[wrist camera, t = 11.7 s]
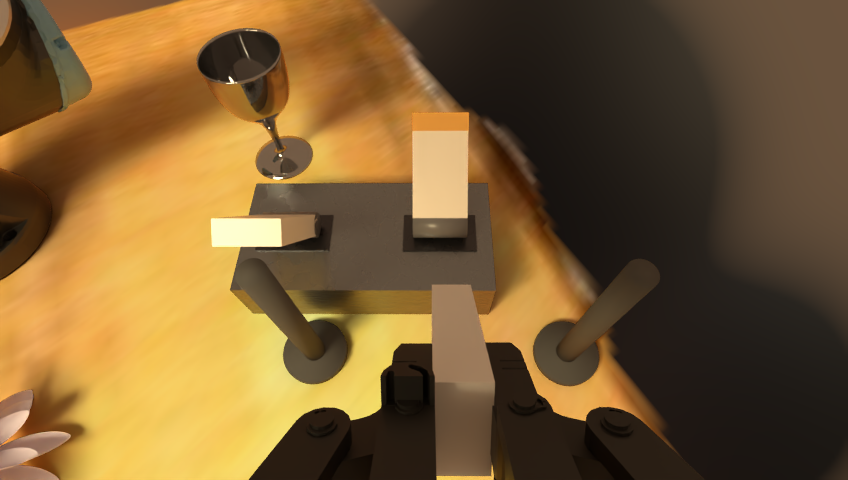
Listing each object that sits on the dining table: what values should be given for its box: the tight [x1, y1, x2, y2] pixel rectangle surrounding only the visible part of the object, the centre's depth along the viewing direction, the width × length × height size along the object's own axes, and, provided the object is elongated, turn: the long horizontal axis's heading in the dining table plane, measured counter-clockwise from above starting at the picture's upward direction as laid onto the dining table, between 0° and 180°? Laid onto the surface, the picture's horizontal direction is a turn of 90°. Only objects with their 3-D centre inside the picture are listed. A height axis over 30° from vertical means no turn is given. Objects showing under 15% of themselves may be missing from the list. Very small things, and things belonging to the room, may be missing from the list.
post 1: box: [234, 258, 347, 384], centre depth 35 cm, size 6×6×18 cm
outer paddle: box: [412, 112, 469, 238], centre depth 41 cm, size 2×5×11 cm
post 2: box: [533, 259, 660, 386], centre depth 34 cm, size 6×6×18 cm
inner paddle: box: [211, 212, 321, 247], centre depth 37 cm, size 2×5×11 cm
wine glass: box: [197, 28, 312, 180], centre depth 49 cm, size 8×8×15 cm
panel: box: [230, 183, 496, 314], centre depth 45 cm, size 12×24×6 cm, turn 90°
